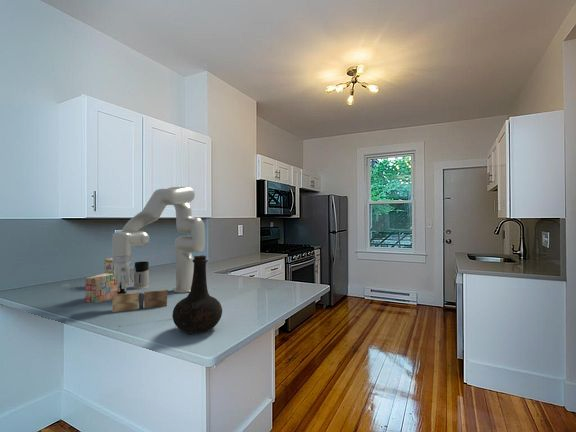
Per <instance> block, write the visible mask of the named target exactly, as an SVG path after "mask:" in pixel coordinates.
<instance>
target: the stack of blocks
mask: <svg viewBox="0 0 576 432" xmlns="http://www.w3.org/2000/svg"><path fill="white" fill-rule="evenodd" d="M84 285H85V286H84V287H85V289H84V290H85V301H84V302H85V303H88V304H89V303H90V304H91V303H101V302H103V301H106V300H109V299H113V297H112V295H114V294H117V291H118V285H117V284H116V281H115V274H106V273H101V274H97V275H92V276H88V277H85V284H84ZM127 287H128V284H126V289H125V291H126V293H128V288H127Z"/></svg>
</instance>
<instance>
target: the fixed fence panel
mask: <svg viewBox="0 0 576 432" xmlns="http://www.w3.org/2000/svg"><path fill="white" fill-rule="evenodd" d="M167 306H168V290H167V289H158V290H149V291H144V292H139V294H138V310H143V309H150V308H151V309H153V308H160V307H167Z"/></svg>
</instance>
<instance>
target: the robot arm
mask: <svg viewBox="0 0 576 432" xmlns="http://www.w3.org/2000/svg"><path fill="white" fill-rule="evenodd" d="M195 192H196V191H194V189H193V188H192V187H190V186H174V187H173V186H171V187H168V188H159V189H156V190H155V191H153V193H152V194H151V196H150V198H149V200H148V201H147V202H146V204H145V206H144V208H143V209H142V210H141V211H140V212H138V213H137V214H136V215H134V216H133V217H132V218H131V219H129V220H128V221H127V222H126V224H125V225H124V226H123V228H122V229H121V231H115V232H114V233H112V248H111V249H112V255H111V258H112V263H114V264H115V281H116V284H117V285H118V291H117V294H124V293H126V291H125V289H126V284H127V286H129V285H130V283H131V282H130V281H131V278H130V271H129V270H130V263H132V248H142V247H145V246H147V245H148V244H149V242H150V236H149V234H148V233H147V231H146V232H145V231H142V230H140V229H141V228H143V227H145V226H147V225H150V224H151V223H154V222H156V221H158V220H159V219H160V217H161V215H162V213H163V212H164V210H165V209H166V207H167V206H173V207H174V209H175V222H176V231H177V232H178V233H180V234H189V235H180V236H178V237H176V238H175V241H174V249H175V250H174V251H175V257H176V258H175V259H176V260H175V263H176V264H175V287H174V288H173V289H172V292H173V293H178V294H179V293H180V294H182V293H185V294H186V293H190V290H191V285H192V279H193V271H194V262H192V260H194V255H193V253H194V254H200V253H202V252H203V251H204V249H205V245H206V239H205V238H206V235H205V234H206V231H205V223H204V220H203V219H202V218H200V217H197V216H193V214H192V206H191V204H190V203H191V202H193V201H194V199H195V197H196V194H195ZM190 234H191V235H190Z"/></svg>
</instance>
